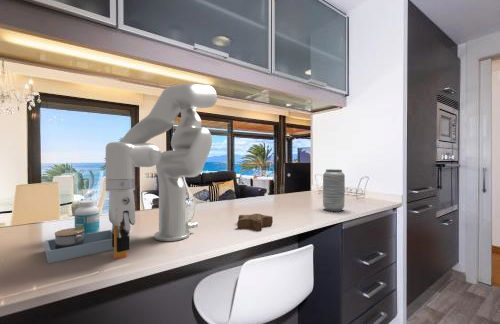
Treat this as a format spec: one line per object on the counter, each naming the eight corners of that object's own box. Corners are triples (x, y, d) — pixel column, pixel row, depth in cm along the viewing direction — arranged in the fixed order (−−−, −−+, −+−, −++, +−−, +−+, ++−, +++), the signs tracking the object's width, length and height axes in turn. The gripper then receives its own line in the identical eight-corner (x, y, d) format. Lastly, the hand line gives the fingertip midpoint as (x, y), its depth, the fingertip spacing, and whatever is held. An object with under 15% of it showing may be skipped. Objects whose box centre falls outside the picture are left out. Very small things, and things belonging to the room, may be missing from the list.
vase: (331, 212, 135) (331, 170, 135) (318, 208, 146) (319, 169, 146) (349, 211, 139) (349, 169, 139) (335, 207, 150) (335, 169, 150)
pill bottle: (70, 239, 88) (70, 201, 88) (93, 234, 94) (93, 198, 94) (80, 243, 84) (80, 203, 84) (103, 238, 90) (103, 200, 90)
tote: (111, 240, 88) (111, 229, 88) (121, 249, 79) (121, 237, 79) (45, 252, 76) (45, 240, 76) (48, 265, 67) (48, 251, 67)
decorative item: (278, 217, 106) (250, 217, 97) (277, 232, 106) (248, 233, 97) (255, 211, 119) (228, 211, 110) (254, 224, 118) (227, 225, 109)
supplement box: (127, 254, 75) (127, 221, 75) (126, 258, 72) (126, 223, 72) (114, 256, 74) (114, 222, 73) (113, 260, 70) (113, 225, 70)
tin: (82, 246, 80) (82, 226, 80) (86, 252, 75) (86, 231, 75) (53, 251, 76) (53, 230, 75) (56, 258, 70) (56, 236, 70)
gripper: (144, 186, 69) (144, 253, 69) (125, 182, 81) (125, 238, 81) (114, 188, 64) (114, 260, 64) (99, 183, 76) (99, 244, 76)
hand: (120, 247), depth 73 cm, fingers closed on supplement box, 4 cm apart
